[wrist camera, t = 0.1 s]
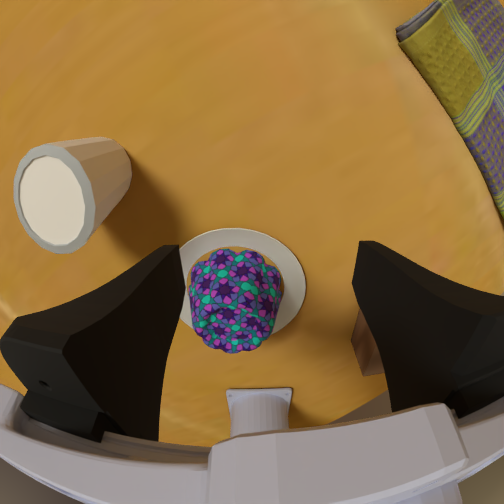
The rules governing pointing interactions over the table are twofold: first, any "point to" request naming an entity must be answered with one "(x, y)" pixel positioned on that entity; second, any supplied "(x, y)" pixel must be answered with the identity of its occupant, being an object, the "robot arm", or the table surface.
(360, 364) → the walnut block
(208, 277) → the pudding
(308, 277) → the table surface
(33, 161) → the white tapered cup
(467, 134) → the dish towel
